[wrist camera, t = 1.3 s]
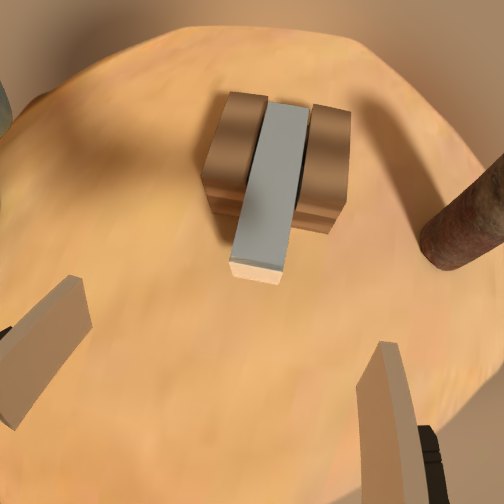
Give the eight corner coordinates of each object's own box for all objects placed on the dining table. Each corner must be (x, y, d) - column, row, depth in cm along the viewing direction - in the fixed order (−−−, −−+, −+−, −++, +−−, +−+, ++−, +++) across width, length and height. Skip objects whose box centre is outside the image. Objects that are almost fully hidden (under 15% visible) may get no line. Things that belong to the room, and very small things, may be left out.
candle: (449, 213, 37) (536, 131, 18) (470, 260, 35) (573, 199, 16) (410, 229, 36) (502, 139, 17) (433, 281, 34) (546, 220, 15)
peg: (278, 285, 30) (282, 273, 25) (233, 276, 30) (228, 262, 26) (304, 135, 35) (309, 108, 30) (267, 128, 35) (268, 101, 31)
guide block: (327, 234, 36) (346, 202, 28) (212, 212, 37) (200, 175, 29) (336, 153, 40) (351, 111, 32) (234, 135, 41) (230, 91, 33)
